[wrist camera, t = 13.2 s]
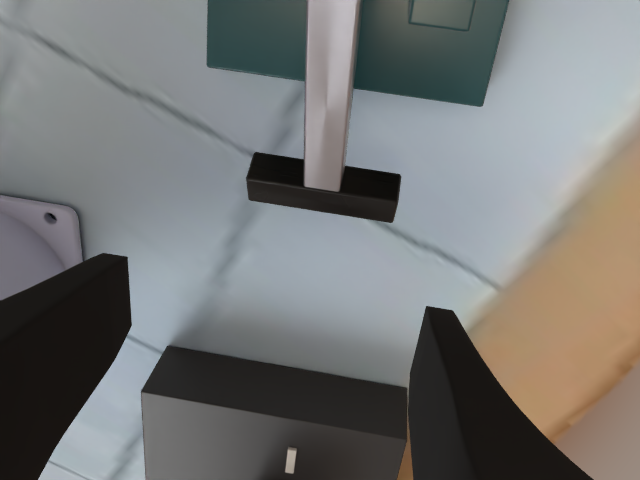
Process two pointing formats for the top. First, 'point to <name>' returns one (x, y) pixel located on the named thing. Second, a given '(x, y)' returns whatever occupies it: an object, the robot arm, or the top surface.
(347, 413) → the control panel
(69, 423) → the robot arm
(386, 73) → the green lever stand
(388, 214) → the lever
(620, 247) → the top surface
